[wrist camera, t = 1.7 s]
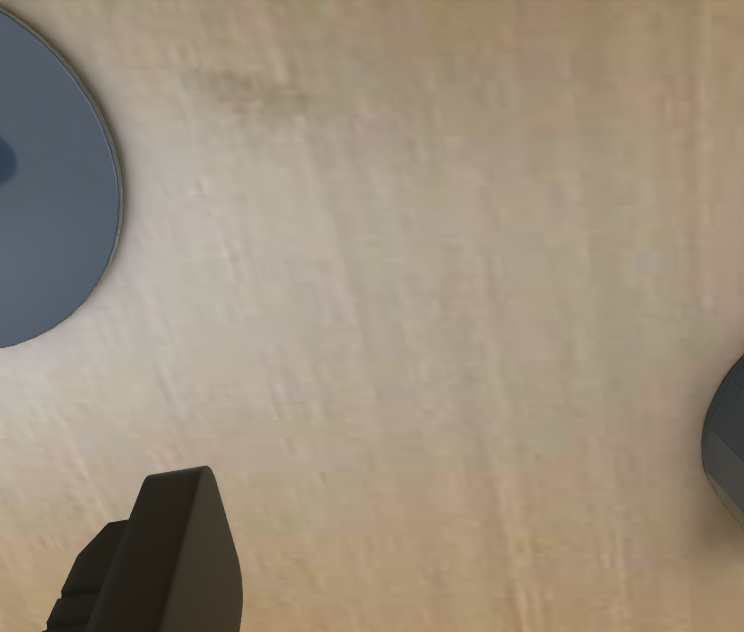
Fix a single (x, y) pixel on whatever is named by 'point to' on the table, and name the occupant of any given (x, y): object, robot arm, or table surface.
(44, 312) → the pot lid
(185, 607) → the robot arm
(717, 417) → the cooking pot
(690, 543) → the table surface
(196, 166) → the table surface
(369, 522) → the table surface
